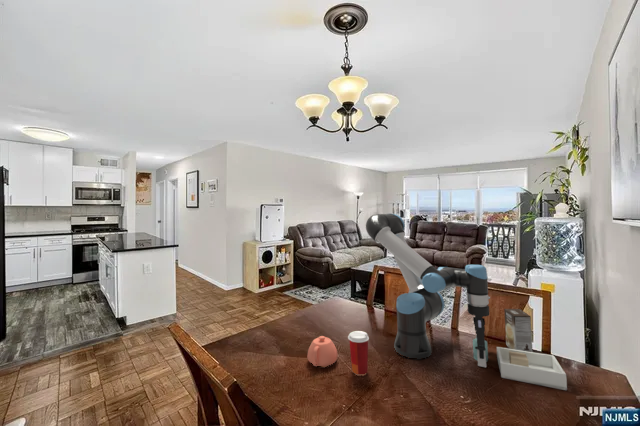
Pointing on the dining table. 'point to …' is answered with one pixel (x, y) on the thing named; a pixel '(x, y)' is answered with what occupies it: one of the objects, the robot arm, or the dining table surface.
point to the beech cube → (518, 359)
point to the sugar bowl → (322, 352)
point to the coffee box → (518, 330)
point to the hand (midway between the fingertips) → (481, 358)
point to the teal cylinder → (476, 349)
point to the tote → (533, 369)
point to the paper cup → (359, 351)
